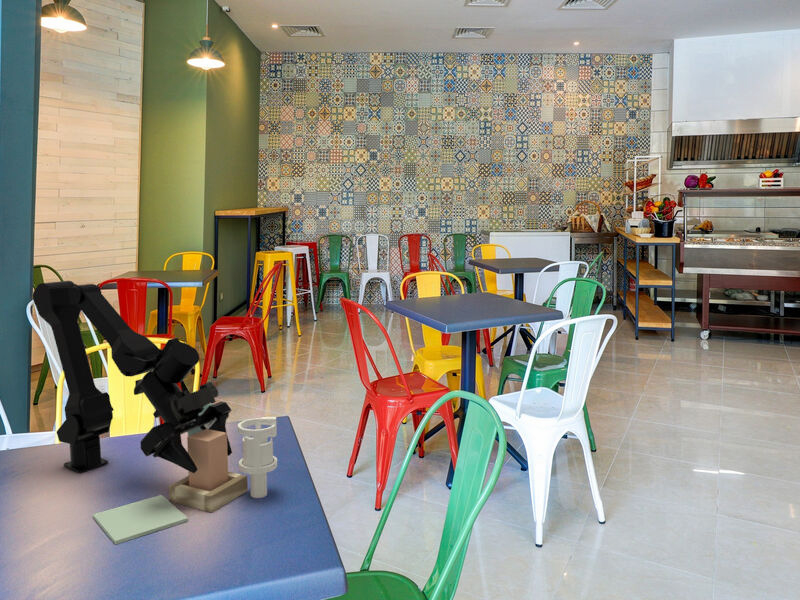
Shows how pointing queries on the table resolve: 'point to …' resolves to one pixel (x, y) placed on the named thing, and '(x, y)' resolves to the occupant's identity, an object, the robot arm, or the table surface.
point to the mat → (139, 519)
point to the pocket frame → (208, 493)
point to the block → (208, 459)
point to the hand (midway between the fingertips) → (213, 462)
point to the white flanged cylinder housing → (258, 453)
